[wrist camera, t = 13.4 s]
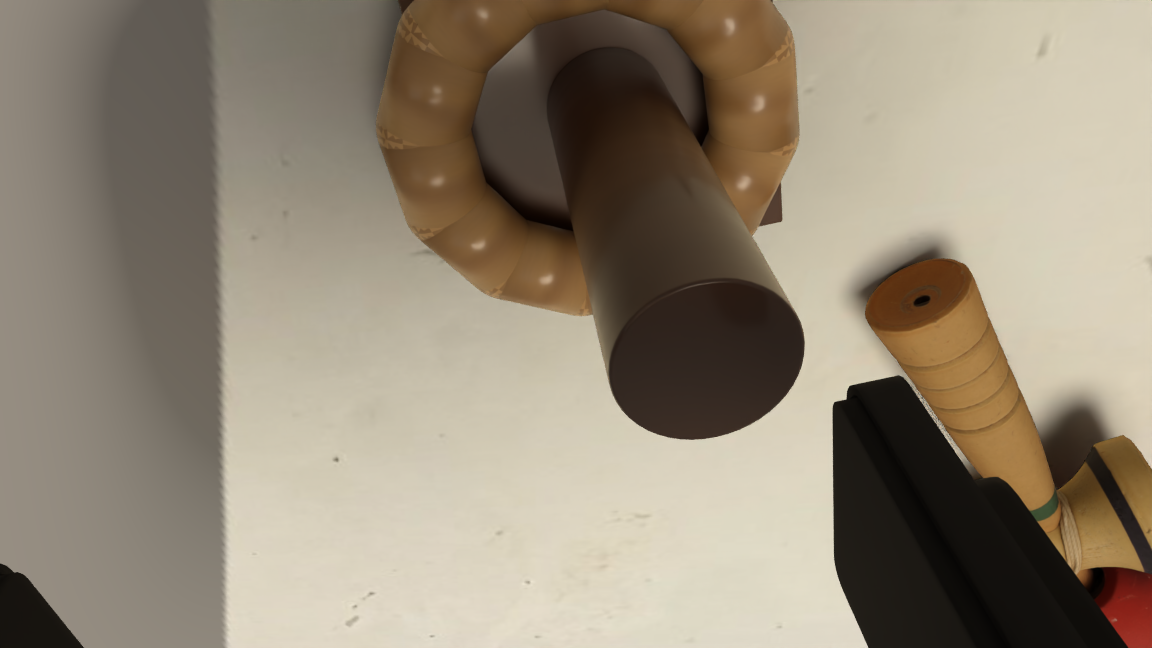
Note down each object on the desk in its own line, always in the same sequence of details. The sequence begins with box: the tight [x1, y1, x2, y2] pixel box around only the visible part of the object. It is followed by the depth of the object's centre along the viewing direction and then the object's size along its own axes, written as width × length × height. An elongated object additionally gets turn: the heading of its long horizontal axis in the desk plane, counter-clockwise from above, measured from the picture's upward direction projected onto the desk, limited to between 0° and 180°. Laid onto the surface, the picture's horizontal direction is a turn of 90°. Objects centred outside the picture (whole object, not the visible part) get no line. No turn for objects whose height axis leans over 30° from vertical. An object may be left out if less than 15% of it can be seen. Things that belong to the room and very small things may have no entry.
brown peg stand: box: [398, 0, 805, 440], centre depth 17 cm, size 8×8×11 cm
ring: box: [376, 0, 799, 316], centre depth 20 cm, size 9×9×2 cm
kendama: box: [865, 258, 1152, 648], centre depth 28 cm, size 8×6×18 cm
